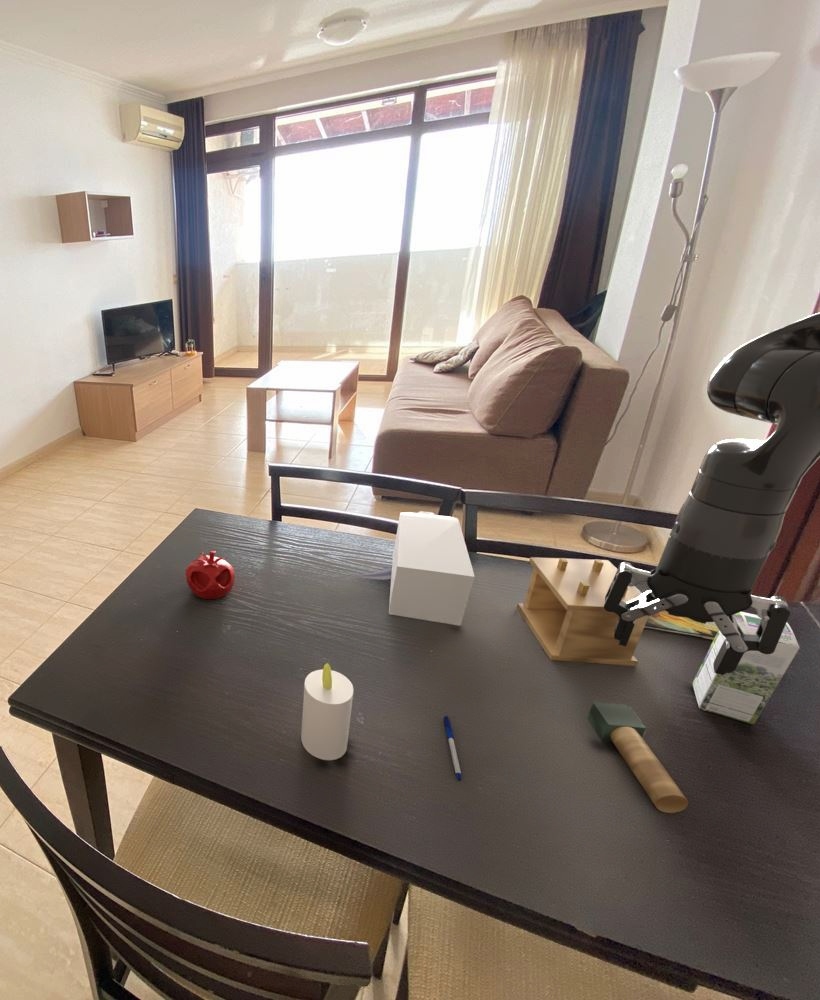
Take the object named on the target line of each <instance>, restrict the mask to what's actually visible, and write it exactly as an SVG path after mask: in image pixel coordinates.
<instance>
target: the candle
mask: <svg viewBox="0 0 820 1000" xmlns="http://www.w3.org/2000/svg"><path fill="white" fill-rule="evenodd" d="M303 685H304V687H303V699H302V700H303V701H302V702H303V703H302V718H301V731H300V732H301V733H300V738H301V743H302V744H301V745H302V746H303V748H304V749H305V751H307V752H308V753H309V754H310V755H311V756H313V757H315V758H317V759H319V760H323V761H335V760H338V759H340V758H342V757H343V756H344V755H345V754H346V752H347V749H348V741H349V733H350V725H351V717H352V716H351V715H352V706H353V699H354V686H353V683H352V682H351V681H350V679H349V678H348V677H346V676H345V674H342V673H341V672H339V671H336V670H332V668H331V665H330V664H329V663H325V664H324V666H323V668H322V669H316V670H313V671H311V672H310V673H308V674H307V676H306V677H305V679H304V684H303Z"/></svg>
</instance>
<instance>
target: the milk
mask: <svg viewBox="0 0 820 1000" xmlns="http://www.w3.org/2000/svg"><path fill="white" fill-rule="evenodd" d="M393 546H394V547H393V552H392V563H391V566H392V574H391V579H390V588H389V589H390V590H389V602H388V615H392V616H397V617H398V616H399V617H404V618H410V619H416V620H423V621H428V622H435V623H439V624H440V623H441V624H447V625H452V626H453V625H454V626H459V627H461V626H462V623H463V619H464V616H465V612H466V609H467V605H468V602H469V598H470V595H471V591H472V588H473V584H474V580H475V578H476V576H475V573H474V569H473V566H472V565H473V564H472V562H471V559H470V556H469V551H468V548H467V544H466V541H465V537H464V534H463V530H462V527H461V523H460V520H459V519H458V518H457V517H453V516H448V515H438V514H435V513H434V512H432V511H423V510H421V511H418V512H411V511H406V512H400V513H399V518H398V523H397V530H396V535H395V541H394V545H393Z"/></svg>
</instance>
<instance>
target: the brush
mask: <svg viewBox="0 0 820 1000" xmlns="http://www.w3.org/2000/svg"><path fill="white" fill-rule="evenodd" d="M586 719H587V721H588V722H589V724H590V725H591V727H592V728H593V730H594V732H596V735H597V736H598V738H600V741H601V742H608V743H613V744H614V747H615V748H616V749H617V751H618V753H619V754H620V755H621V756H622V758H623V760H624V762H625V764H627V766H628V767H629V769H630V770H631V772H632V773H633V775H634V776H635V778H636V780H637V781H638V782H639V784H640V785H641V787H642V788H643V790H644V791H645V793H646V795H647V796H648V797H649V799H650V800H651V802H652V803H653V805H654V807H655V808H656V809H657V810H659V811H660V812H663V813H669V814H674V813H680V812H683V811H684V810H685V809H687V808H688V805H689V800H688V798H686V795H684V793H683V792H682V790H681V789H680V788H679V786H678V785H677V784H676V782H675V781H674V779H673V778H672V777H671V775H670V773H668V772H667V770H666V768H665V767H664V766H663V764H662V763H661V762H660V760H659V759H658V757H657V756H656V755H655V754H654V752H653V751H652V749H651V748H650V746H649V745H648V744H647V742H646V741H645V740H644V738H643V736H644V735H645V732H646V730H647V727H646V726H645V725H644V723H643V721H641V719H640V718H639V716H638V715H637V714H636V713H635V711H634V710H633V708H632V706H630V705H629V704H620V703H619V704H618V703H609V702H596V701H592V704H591V707H590V709H589V712H588V714H587V716H586Z"/></svg>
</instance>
